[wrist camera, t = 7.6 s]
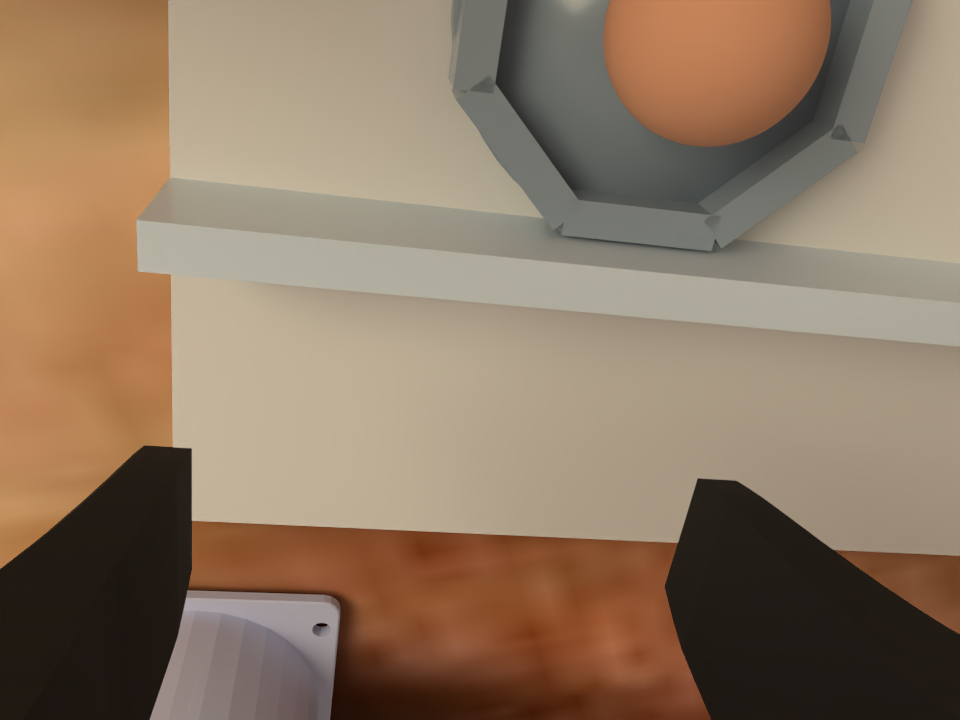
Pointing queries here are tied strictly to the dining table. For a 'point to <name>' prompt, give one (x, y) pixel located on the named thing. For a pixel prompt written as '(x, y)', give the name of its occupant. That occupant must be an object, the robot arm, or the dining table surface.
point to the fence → (537, 264)
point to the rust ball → (714, 63)
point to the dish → (634, 148)
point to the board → (537, 318)
